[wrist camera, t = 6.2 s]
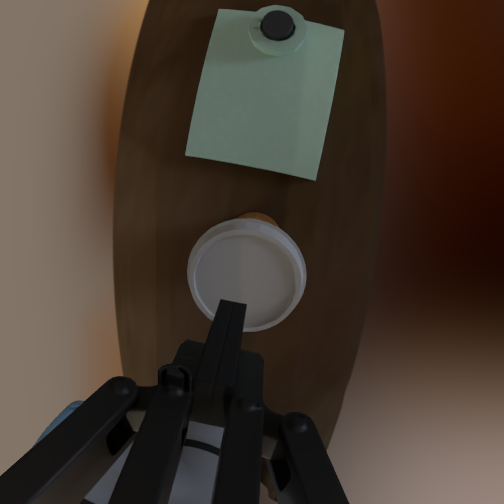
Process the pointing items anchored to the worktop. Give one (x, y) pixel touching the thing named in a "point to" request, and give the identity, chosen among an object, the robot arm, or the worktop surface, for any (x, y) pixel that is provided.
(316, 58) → the scale
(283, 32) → the button
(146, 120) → the worktop surface
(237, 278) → the disposable coffee cup
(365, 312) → the worktop surface
